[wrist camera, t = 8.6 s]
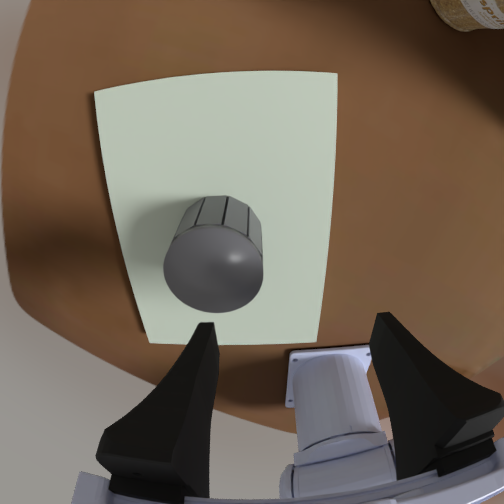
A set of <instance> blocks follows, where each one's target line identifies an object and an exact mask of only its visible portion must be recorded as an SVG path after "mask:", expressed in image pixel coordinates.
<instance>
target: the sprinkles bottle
mask: <svg viewBox="0 0 504 504" xmlns="http://www.w3.org/2000/svg"><path fill="white" fill-rule="evenodd" d="M430 1H431V4H432V6H433V7H434V9H435V10H436V13H437V14H438V15H439V16H440V18H441V19H442V20H443V21H444V22H445V23H446V24H448V25H449V26H451V27H453V28H454V29H456V30H459V31H465V32H468V31H471V30H474V29H484V28H491V29H504V0H430Z"/></svg>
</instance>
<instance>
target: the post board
mask: <svg viewBox="0 0 504 504" xmlns="http://www.w3.org/2000/svg"><path fill="white" fill-rule="evenodd" d="M94 95H95V105H96V114H97V122H98V130H99V137H100V144H101V151H102V157H103V163H104V169H105V175H106V180H107V186H108V191H109V196H110V201H111V206H112V210H113V215H114V219H115V224H116V228H117V232H118V237H119V241H120V245H121V249H122V253H123V257H124V260H125V264H126V268H127V272H128V275H129V279H130V282H131V286H132V289H133V293H134V296H135V299H136V302H137V306H138V309H139V312H140V315H141V318H142V321H143V324H144V327H145V330H146V333H147V336H148V339H149V342H150V343H163V344H188V342H189V340H190V339H191V337H192V335H193V333H194V331H195V329H196V327H197V325H198V324H199V323H200V322H214V325H215V331H216V336H217V342H218V345H254V344H286V343H307V342H316V339H317V333H318V326H319V319H320V312H321V305H322V297H323V289H324V281H325V273H326V264H327V255H328V245H329V235H330V224H331V213H332V200H333V186H334V170H335V151H336V126H337V73H324V72H306V71H242V72H223V73H209V74H198V75H188V76H179V77H171V78H164V79H157V80H151V81H144V82H139V83H133V84H128V85H123V86H118V87H113V88H108V89H104V90H99V91H95V92H94ZM224 195H227V199H228V198H229V196H231V197H233V198H235V199H237V200H239V201H241V202H243V203H245V204H247V205H248V207H249V206H250V207H251V209H252V210H253V212H254V213H255V215H256V216H257V218H258V219H259V221H260V222H261V230H262V248H263V273H264V274H263V282H262V286H261V288H260V290H259V292H258V294H257V295H256V296H255V298H254V299H253V300H252V301H251V302H249V303H248V304H247V305H245V306H243V307H242V308H240V309H237V310H234V311H231V312H226V313H208V312H203V311H199V310H196V309H194V308H191V307H189V306H187V305H186V304H184V303H183V302H181V301H180V300H179V299H178V298H177V297H176V296H175V295H174V294H173V293H172V292H171V290H170V289H169V287H168V285H167V283H166V281H165V278H164V272H163V264H164V259H165V256H166V253H167V251H168V249H169V247H170V244H171V242H172V240H173V237H174V235H175V233H176V231H177V229H178V226H179V224H180V222H181V220H182V218H183V216H184V214H185V211H186V209H188V207H190V206H191V205H193V204H194V203H196V202H197V201H199V200H200V199H202V198H205V199H206V196H224Z"/></svg>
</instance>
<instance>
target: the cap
mask: <svg viewBox="0 0 504 504" xmlns="http://www.w3.org/2000/svg"><path fill="white" fill-rule="evenodd" d="M163 272H164V278H165V281H166V283H167V285H168V287H169V289H170V290H171V292H172V293H173V294H174V295H175V296H176V297H177V298H178V299H179V300H180V301H181V302H183V303H184V304H186V305H187V306H189V307H191V308H194V309H196V310H199V311H203V312H208V313H226V312H231V311H234V310H237V309H240V308H242V307H243V306H245V305H247V304H248V303H249V302H251V301H252V300H253V299H254V298H255V296H256V295H257V294H258V292H259V290H260V288H261V286H262V282H263V274H264V273H263V248H262V230H261V222H260V221H259V219H258V218H257V216H256V215H255V213H254V212H253V210H252V209H251V207H250V206H249V207H248V205H247V204H245V203H243V202H241V201H239V200H237V199H235V198H233V197H231V196H229V198H228V199H227V195H224V196H206V199H205V198H202V199H200V200H199V201H197V202H196V203H194V204H193V205H191V206H190V207H188V209H186V211H185V214H184V216H183V218H182V220H181V222H180V224H179V226H178V229H177V231H176V233H175V235H174V237H173V240H172V242H171V244H170V247H169V249H168V251H167V253H166V256H165V259H164V264H163Z"/></svg>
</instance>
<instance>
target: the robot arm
mask: <svg viewBox="0 0 504 504" xmlns="http://www.w3.org/2000/svg"><path fill="white" fill-rule="evenodd" d="M219 355H220V353H219V348H218V342H217V336H216V331H215V325H214V322H200V323H199V324H198V325H197V327H196V329H195V331H194V333H193V335H192V337H191V339H190V340H189V342H188V344H187V345H186V347H185V349H184V350H183V352H182V353H181V355H180V356H179V358H178V359H177V361H176V362H175V364H174V365H173V366H172V368H171V369H170V371H169V372H168V373H167V375H166V376H165V377H164V378H163V379H162V381H161V382H160V383H159V384H158V385H157V386H156V388H155V389H154V390H153V391H152V392H151V393H150V394H149V395H148V396H147V397H146V398H145V399H144V400H143V401H142V402H141V403H139V404H138V405H137V406H136V407H135V408H133V409H132V410H131V411H130V412H129V413H128V414H126V415H125V416H124V417H122V418H121V419H119V420H118V421H117V422H115V423H114V424H112V425H111V426H109V427H108V428H106V429H105V430H104V433H103V435H102V437H101V440H100V442H99V446H98V449H97V453H96V459H97V461H98V462H99V463H100V464H101V465H102V466H103V467H104V468H105V469H107V470H108V471H109V472H110V473H111V474H112V475H111V480H109V479H106V478H104V477H101V476H97V475H93V474H90V473H86V472H82V471H81V472H79V476H78V479H77V483H76V487H75V490H74V495H73V498H72V502H71V504H480V503H482V502H484V501H486V500H487V499H489V498H491V497H493V496H495V495H497V494H498V493H500V492H502V491H504V437H502V438H500V439H498V440H497V441H495V442H494V443H493V440H492V437H494V432H493V430H492V429H493V428H494V427H495V426H496V425H497V424H498V423H499V422H500V421H501V420H502V418H503V417H504V400H503V398H502V396H501V394H500V393H498V392H495V391H493V390H490V389H488V388H485V387H483V386H481V385H479V384H477V383H475V382H473V381H471V380H469V379H468V378H466V377H464V376H463V375H461V374H459V373H458V372H456V371H455V370H453V369H452V368H450V367H449V366H447V365H446V364H445V363H443V362H442V361H441V360H439V359H438V358H437V357H436V356H435V355H433V354H432V353H431V352H430V351H429V350H428V349H427V348H425V347H424V346H423V345H422V344H421V343H420V342H419V341H418V340H417V339H416V338H415V337H414V336H413V335H412V334H411V333H410V332H409V331H408V330H407V329H406V328H405V327H404V326H403V325H402V324H401V323H400V322H399V321H398V320H397V319H396V318H395V317H394V316H393V315H392V314H391V313H390V312H383V313H377V316H376V320H375V324H374V327H373V331H372V335H371V338H370V342H369V345H361V346H350V347H339V348H326V349H311V350H295V351H292V352H291V353H290V356H289V368H288V379H287V390H286V400H285V406H286V407H288V408H292V407H295V416H296V427H297V437H298V449H299V452H297V453H294V464H289V465H287V467H286V468H285V470H284V471H283V473H282V474H281V478H280V485H279V493H280V499H256V500H255V499H254V500H243V499H241V500H240V499H239V500H238V499H213V498H210V497H209V454H210V428H211V417H212V410H213V405H214V399H215V393H216V387H217V381H218V375H219ZM371 359H372V362H373V366H374V369H375V371H376V374H377V377H378V380H379V383H380V386H381V389H382V392H383V395H384V398H385V400H386V404H387V407H388V411H389V416H390V421H391V427H392V433H393V439H392V440H388V441H387V437H386V434H385V431H382V430H381V426H380V422H379V418H378V415H377V411H376V407H375V404H374V400H373V397H372V393H371V390H370V386H369V383H368V379H367V376H366V373H367V370H368V367H369V364H370V362H371Z"/></svg>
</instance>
